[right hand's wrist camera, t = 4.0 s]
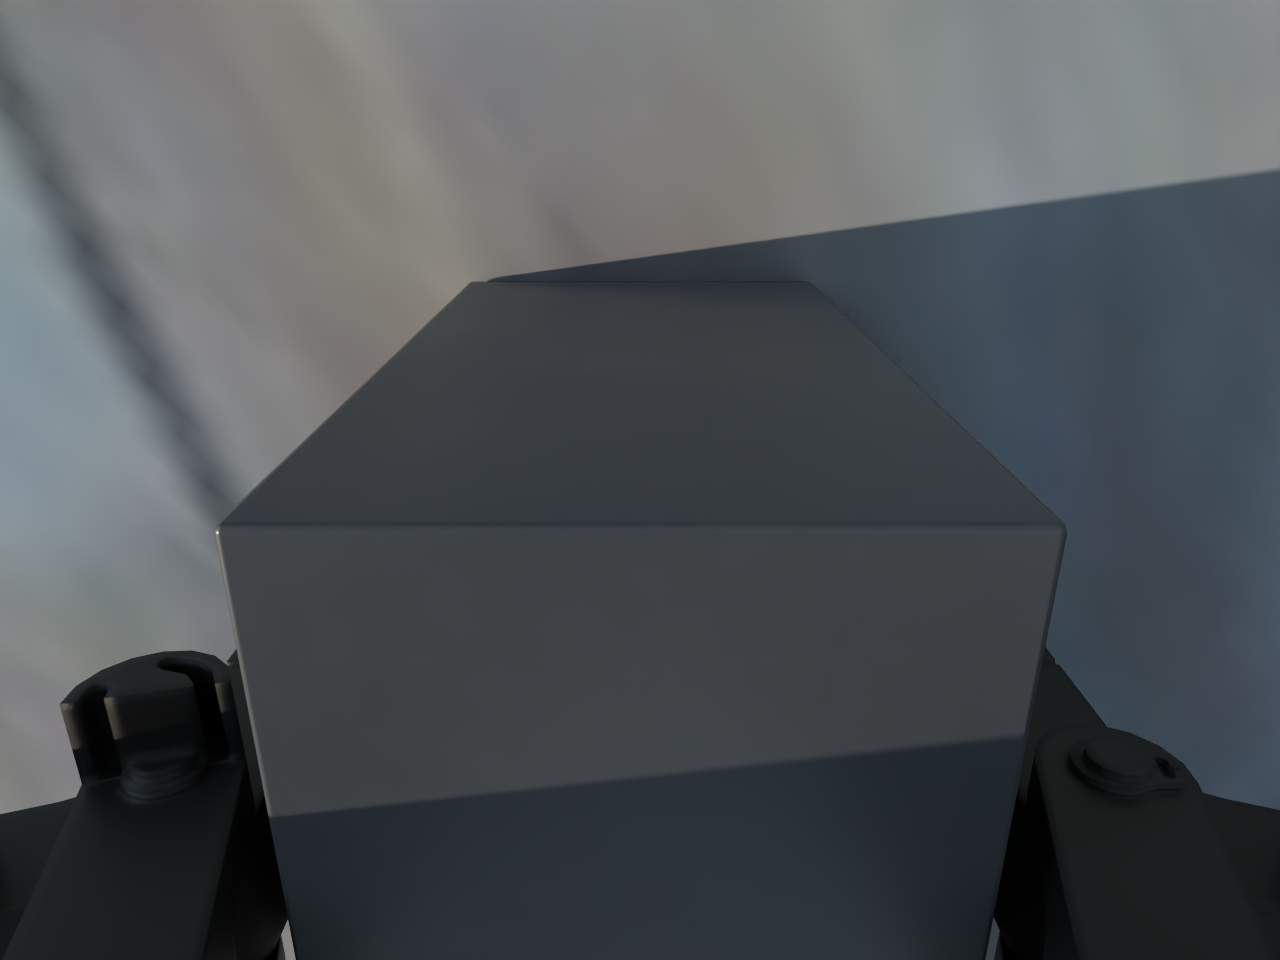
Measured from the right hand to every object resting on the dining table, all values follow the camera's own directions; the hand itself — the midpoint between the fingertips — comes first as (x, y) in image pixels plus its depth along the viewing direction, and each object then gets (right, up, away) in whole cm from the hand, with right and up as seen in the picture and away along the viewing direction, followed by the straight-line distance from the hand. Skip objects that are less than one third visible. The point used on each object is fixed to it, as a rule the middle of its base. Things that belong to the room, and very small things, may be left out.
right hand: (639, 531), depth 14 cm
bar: (0, -8, +4) cm, 9 cm away
